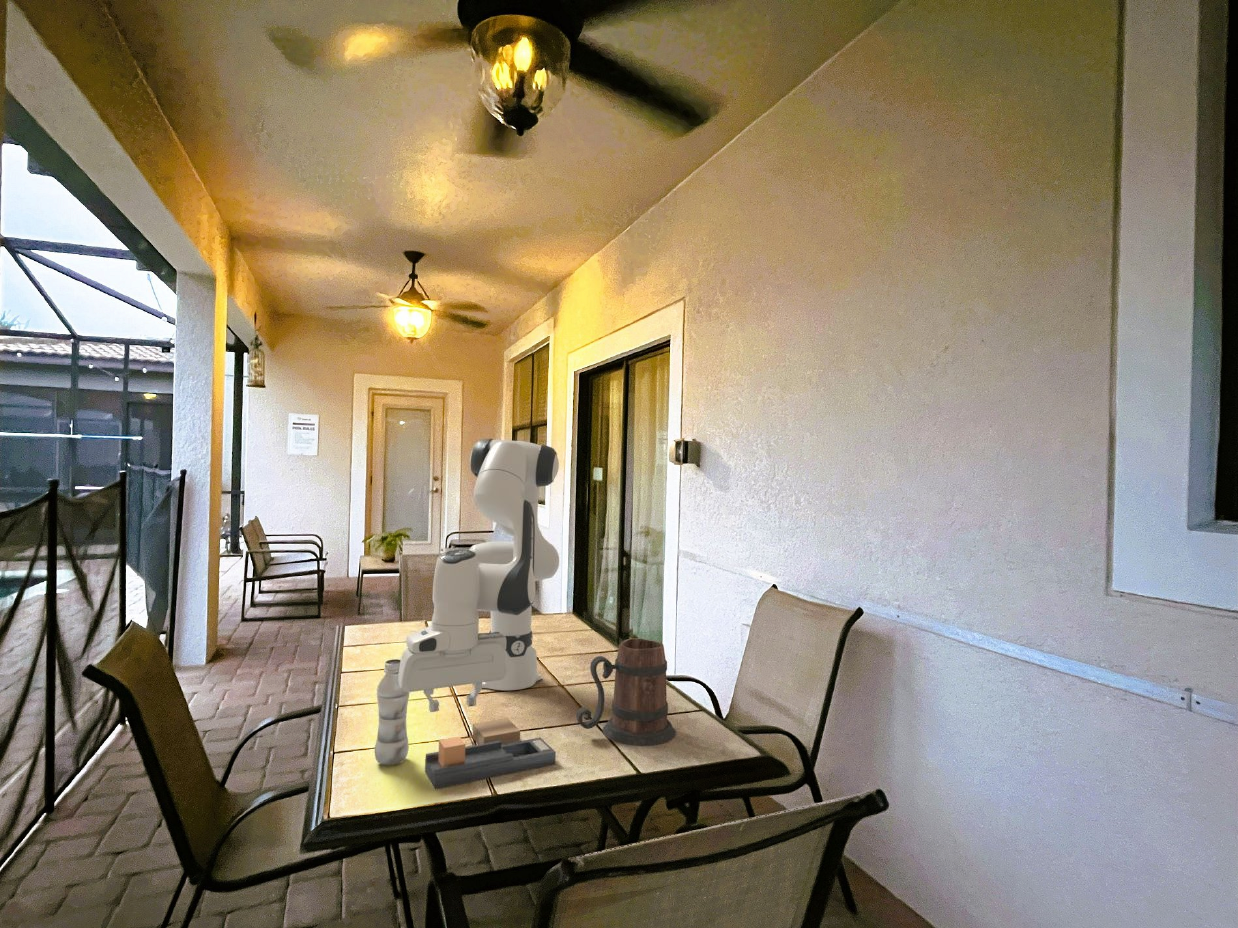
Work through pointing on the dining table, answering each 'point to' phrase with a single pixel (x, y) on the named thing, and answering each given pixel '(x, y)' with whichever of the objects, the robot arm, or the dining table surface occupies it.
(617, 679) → the tankard
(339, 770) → the dining table surface
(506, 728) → the brown square plate
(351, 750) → the dining table surface
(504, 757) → the grey slotted tray
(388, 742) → the plastic bottle
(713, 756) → the dining table surface
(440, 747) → the peach foam cube
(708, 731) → the dining table surface
